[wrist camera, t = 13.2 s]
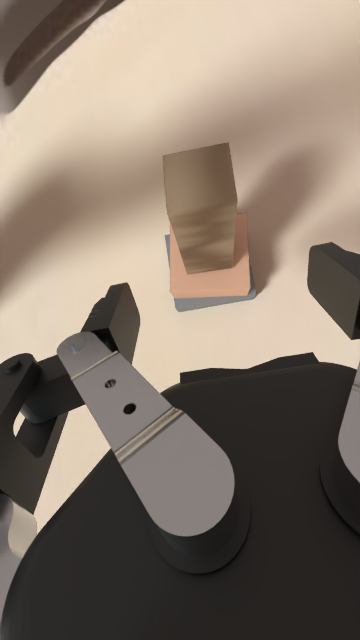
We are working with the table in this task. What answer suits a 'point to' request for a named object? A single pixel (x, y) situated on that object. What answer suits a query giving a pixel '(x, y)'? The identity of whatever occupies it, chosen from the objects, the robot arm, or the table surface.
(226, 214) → the brown block
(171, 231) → the upper slab
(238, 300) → the lower slab
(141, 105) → the table surface
